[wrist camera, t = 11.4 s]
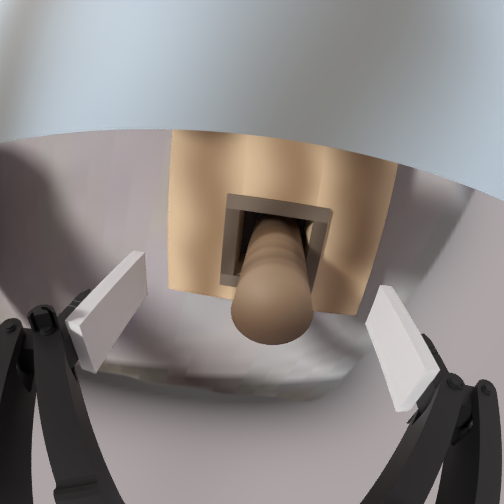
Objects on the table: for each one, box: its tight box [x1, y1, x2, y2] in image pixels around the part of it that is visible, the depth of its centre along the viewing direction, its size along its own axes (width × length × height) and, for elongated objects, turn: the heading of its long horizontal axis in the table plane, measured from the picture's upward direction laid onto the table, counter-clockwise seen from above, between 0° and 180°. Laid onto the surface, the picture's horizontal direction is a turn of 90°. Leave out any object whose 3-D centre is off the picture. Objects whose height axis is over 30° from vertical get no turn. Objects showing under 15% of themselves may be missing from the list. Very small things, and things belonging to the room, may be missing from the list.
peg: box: [231, 213, 313, 345], centre depth 19 cm, size 4×4×12 cm
